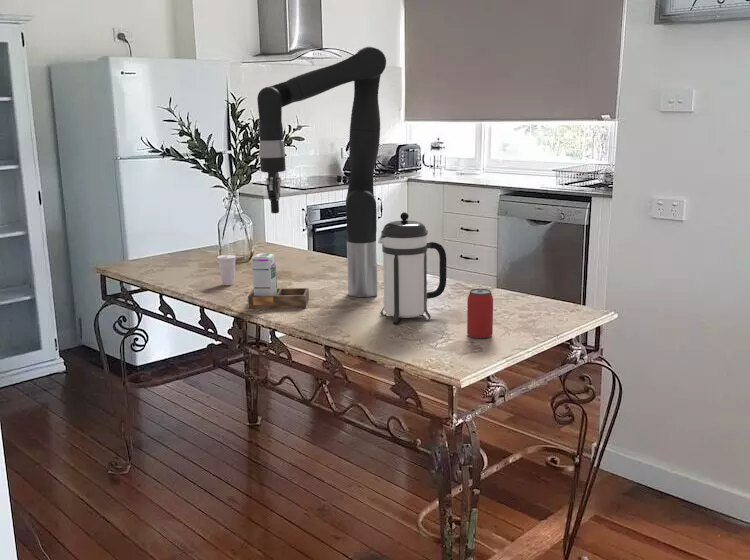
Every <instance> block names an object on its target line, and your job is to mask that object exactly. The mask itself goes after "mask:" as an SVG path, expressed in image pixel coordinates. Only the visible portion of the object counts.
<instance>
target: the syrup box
mask: <svg viewBox="0 0 750 560" xmlns="http://www.w3.org/2000/svg"><path fill="white" fill-rule="evenodd" d="M250 259H251V270H252V271H251V272H252V273H251V274H252V286H253V289H254V296H276V294H277V288H278V285H277V283H278V281H277V267H276V255H275V253H272V252H271V253H270V252H269V253H268V252H267V253H266V252H265V253H264V252H263V253H262V252H261V253H257V254H255V255H253V256H252V257H251V258H250Z"/></svg>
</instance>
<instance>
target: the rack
mask: <svg viewBox="0 0 750 560" xmlns="http://www.w3.org/2000/svg"><path fill="white" fill-rule="evenodd" d="M309 291H310V290H309V287H301V288H300V287H291V288H290V287H285V288H284V287H282V288H281V287H280V288H278V287H277V294H276V296H254V288H253V289H252V290H251V292H250V293H249V295H248V296H247V302H248V304H247V305H248V310H249V309H250V310H251V309H252V310H253V309H254V310H255V309H258V310H260V309H261V310H263V309H264V310H265V309H266V310H267V309H268V310H270V309H306V308H307V307H306V306H308V304H309V302H310V292H309Z"/></svg>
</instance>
